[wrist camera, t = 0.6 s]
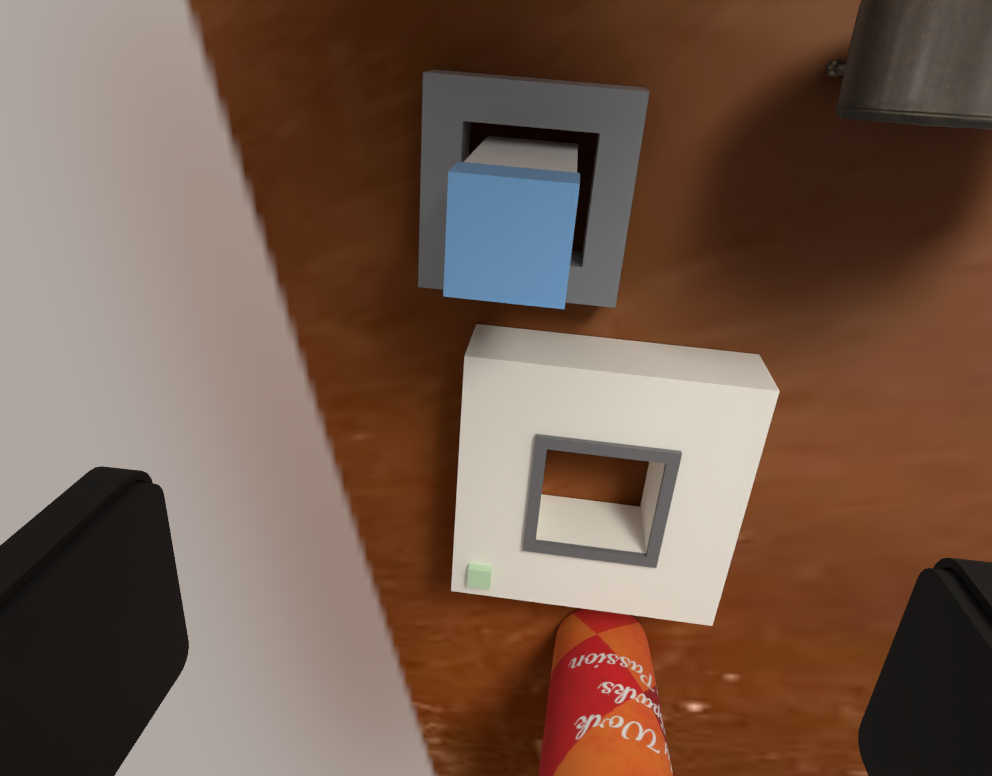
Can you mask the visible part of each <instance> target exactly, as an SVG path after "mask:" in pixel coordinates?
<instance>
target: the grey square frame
mask: <svg viewBox="0 0 992 776" xmlns="http://www.w3.org/2000/svg"><path fill="white" fill-rule="evenodd" d="M648 98H649V91H648V90H647V89H646V88H645V87H634V86H623V85H611V84H599V83H587V82H576V81H564V80H552V79H540V78H529V77H517V76H505V75H493V74H482V73H470V72H458V71H447V70H430V71H426V72H423V95H422V139H421V182H420V225H419V268H418V287H423V288H432V289H442V290H444V265H445V240H446V215H447V190H448V171H449V170H450V169H451V168H452V167H453V166H454V165H455V164H456V163H457V162H464V161H465V160H466V159H467V158H468V157H469V152H470V133H471V122H479V123H490V124H501V125H513V126H524V127H535V128H546V129H557V130H568V131H579V132H590V133H598V136H597V143H596V151H595V159H594V166H593V174H592V182H591V189H590V197H589V205H588V212H587V220H586V228H585V235H584V243H583V251H582V252H579V251H572V253H571V261H570V269H569V277H568V285H567V293H566V301H565V303H575V304H584V305H593V306H603V307H612V308H615V307H616V301H617V294H618V288H619V282H620V275H621V269H622V263H623V256H624V250H625V244H626V237H627V231H628V225H629V218H630V212H631V206H632V199H633V193H634V187H635V180H636V174H637V168H638V161H639V155H640V149H641V142H642V136H643V130H644V124H645V117H646V111H647V105H648Z"/></svg>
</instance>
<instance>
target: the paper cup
mask: <svg viewBox="0 0 992 776" xmlns="http://www.w3.org/2000/svg"><path fill="white" fill-rule="evenodd" d="M539 776H673V773H672V767H671V762H670V756H669V751H668V746H667V740H666V735H665V729H664V724H663V718H662V713H661V708H660V702H659V697H658V691H657V686H656V681H655V676H654V670H653V665H652V660H651V655H650V651H649V646H648V642H647V638H646V634H645V631H644V629H643V627H642V625H641V624H640V622H639V621H638V620H637V619H636V618H635V617H634V616H632V615H628V614H620V613H613V612H605V611H598V610H590V609H583V608H580V609H578V610H576V611H574V612H572V613H570V614H569V615H568V616H567V617H566V618H565V619H564V620H563V621H562V622H561V624H560V626H559V628H558V631H557V636H556V641H555V648H554V655H553V662H552V670H551V678H550V686H549V694H548V702H547V710H546V719H545V727H544V736H543V744H542V752H541V761H540V769H539Z"/></svg>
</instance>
